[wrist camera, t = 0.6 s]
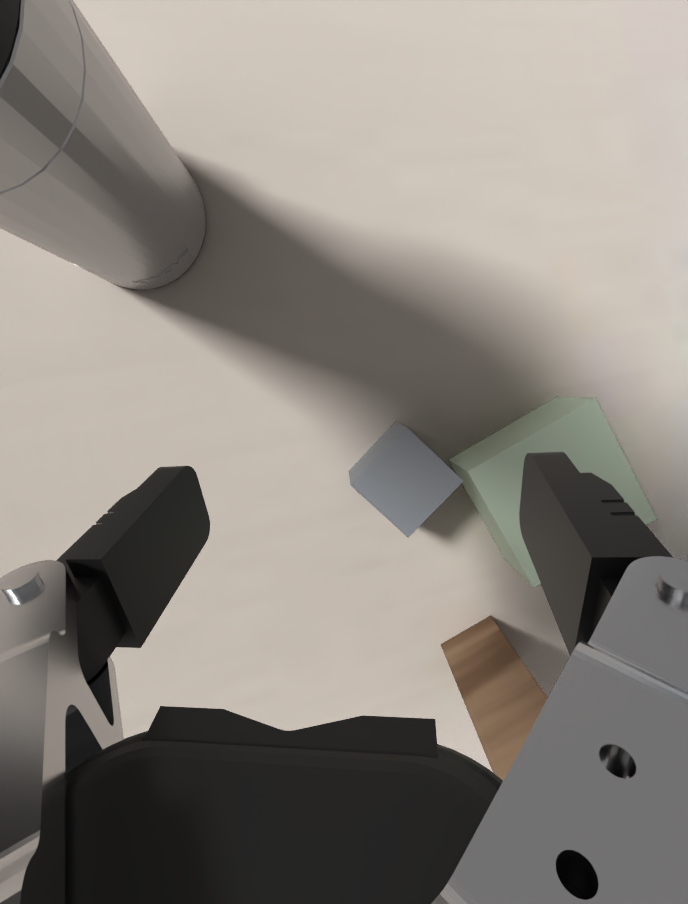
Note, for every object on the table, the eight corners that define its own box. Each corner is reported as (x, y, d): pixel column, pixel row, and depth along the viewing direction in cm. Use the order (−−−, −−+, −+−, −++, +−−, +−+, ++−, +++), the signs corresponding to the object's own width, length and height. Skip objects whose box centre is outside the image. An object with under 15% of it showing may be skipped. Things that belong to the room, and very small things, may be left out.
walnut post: (440, 644, 34) (496, 781, 22) (490, 615, 34) (574, 737, 22) (469, 688, 34) (538, 845, 22) (518, 660, 34) (615, 804, 22)
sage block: (447, 459, 32) (467, 471, 27) (555, 396, 32) (595, 397, 27) (503, 558, 33) (533, 587, 28) (608, 499, 33) (657, 519, 28)
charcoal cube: (348, 470, 32) (350, 485, 27) (395, 421, 31) (406, 426, 27) (397, 515, 32) (408, 537, 28) (444, 467, 32) (463, 481, 27)
